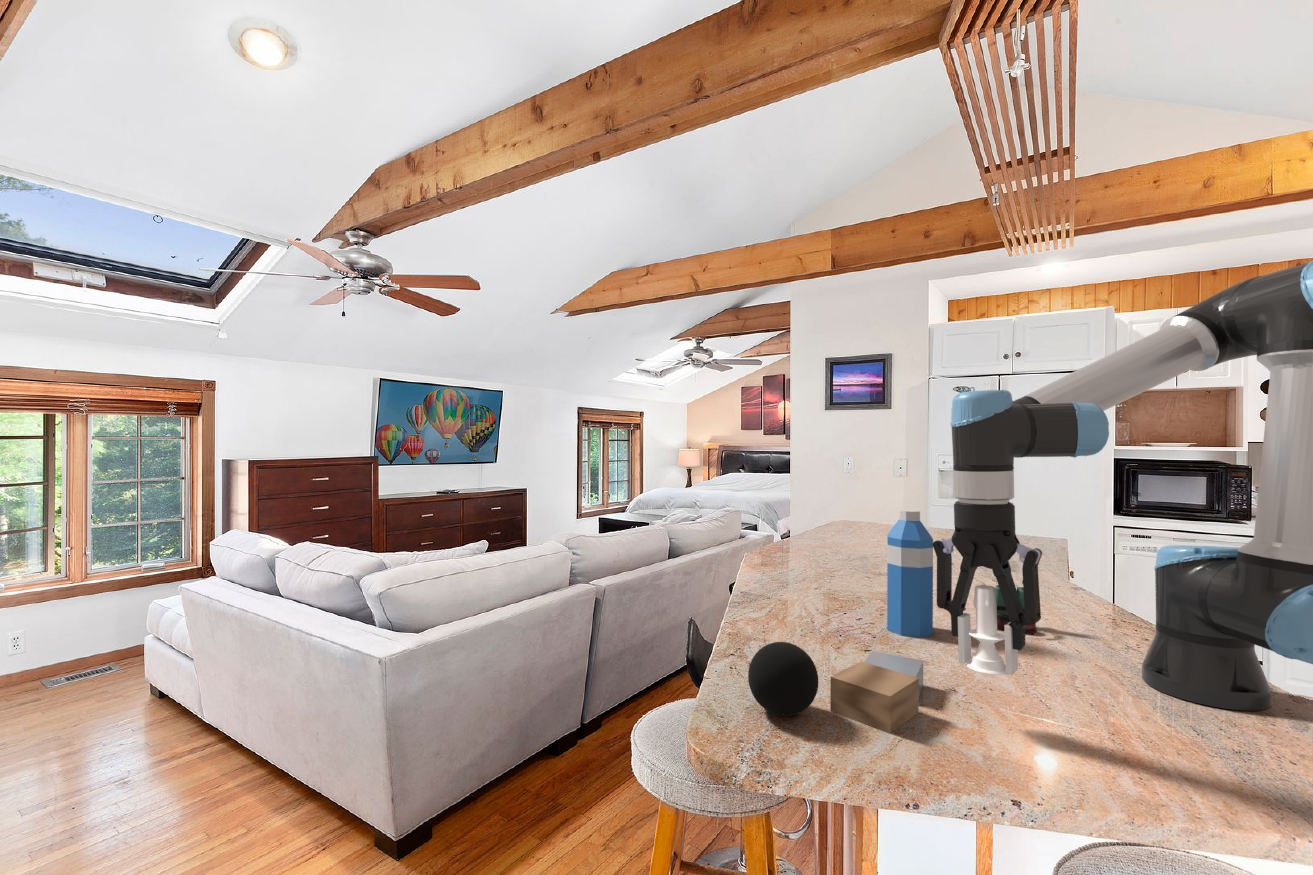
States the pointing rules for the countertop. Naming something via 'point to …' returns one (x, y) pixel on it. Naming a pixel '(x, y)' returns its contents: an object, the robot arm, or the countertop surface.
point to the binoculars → (1003, 615)
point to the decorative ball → (783, 678)
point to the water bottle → (910, 577)
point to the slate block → (898, 664)
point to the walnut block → (875, 696)
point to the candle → (986, 633)
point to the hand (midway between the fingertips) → (987, 665)
